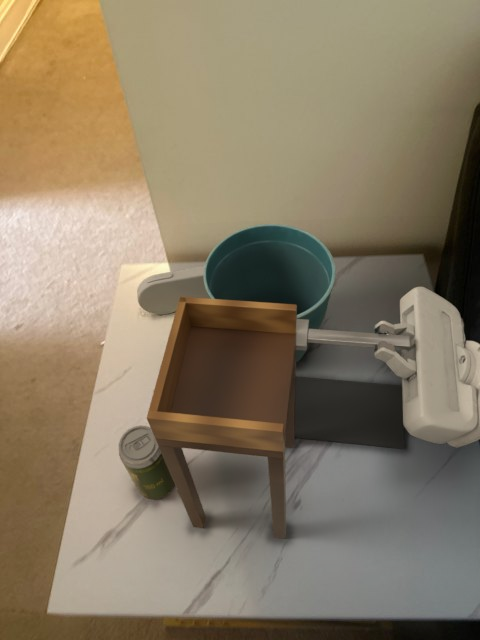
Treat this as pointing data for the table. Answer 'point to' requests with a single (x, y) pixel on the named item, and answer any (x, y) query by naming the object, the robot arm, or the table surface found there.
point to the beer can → (145, 462)
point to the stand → (227, 391)
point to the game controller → (170, 289)
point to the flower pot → (273, 270)
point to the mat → (349, 412)
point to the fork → (345, 337)
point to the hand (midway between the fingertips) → (377, 338)
